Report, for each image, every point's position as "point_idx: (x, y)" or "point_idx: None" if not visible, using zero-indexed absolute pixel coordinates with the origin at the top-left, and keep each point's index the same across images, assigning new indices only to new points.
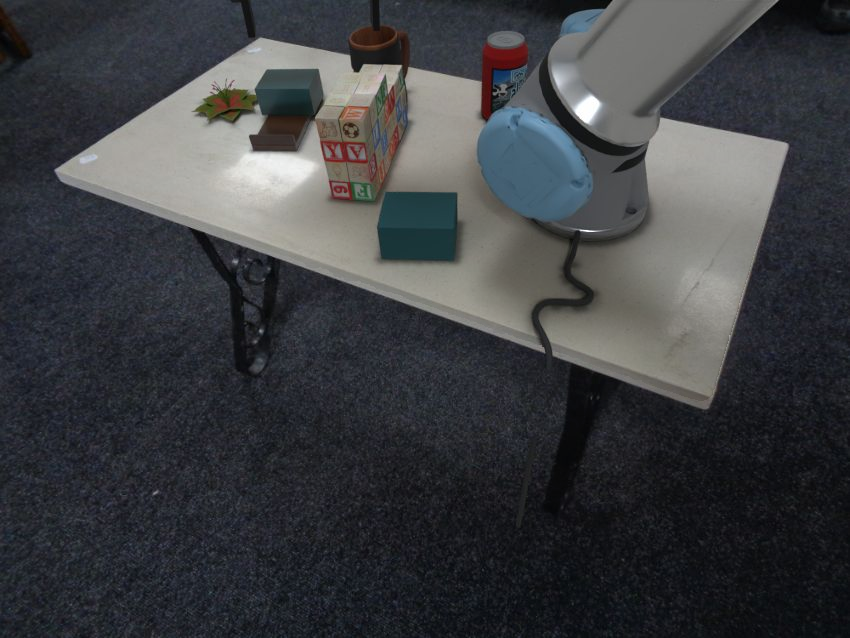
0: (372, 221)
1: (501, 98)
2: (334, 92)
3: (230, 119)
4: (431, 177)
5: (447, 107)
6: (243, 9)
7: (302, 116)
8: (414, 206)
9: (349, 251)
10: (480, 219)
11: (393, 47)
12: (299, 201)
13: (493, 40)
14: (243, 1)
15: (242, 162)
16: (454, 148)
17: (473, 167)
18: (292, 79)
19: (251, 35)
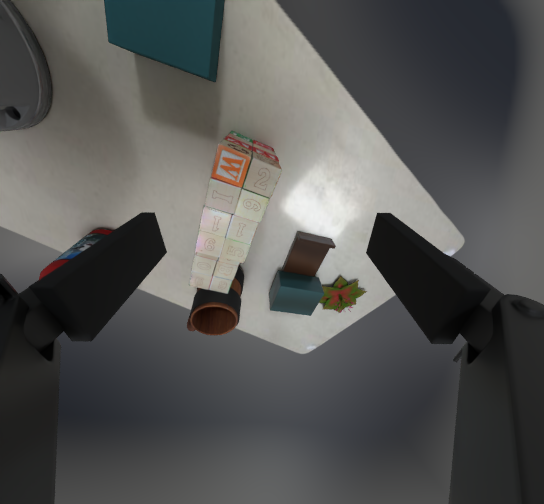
0: (234, 92)
1: (93, 242)
2: (254, 223)
3: (342, 278)
4: (173, 159)
5: (166, 264)
6: (418, 236)
7: (288, 270)
8: (166, 20)
9: (262, 33)
10: (106, 55)
11: (195, 305)
12: (304, 152)
13: None
14: (424, 244)
15: (342, 225)
16: (153, 203)
17: (129, 166)
18: (292, 300)
19: (385, 214)
